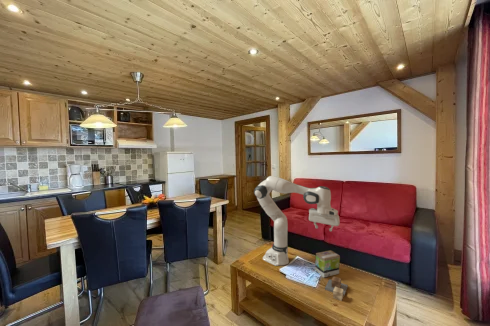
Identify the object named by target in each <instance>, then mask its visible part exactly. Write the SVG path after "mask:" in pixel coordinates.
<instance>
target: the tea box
mask: <svg viewBox="0 0 490 326" xmlns="http://www.w3.org/2000/svg"><path fill="white" fill-rule="evenodd" d="M340 260H341V256H340V255H339V254H338V253H336V252H335V251H333V250H331V249H330V250H325V251H321V252H316V253H315V266H314V271H315V270H316V271H317V272H318V273H320V274H321V275H320V274H319V275H320V276H321V277H322V278H327V277H330V276H334V275H335V276H336V275H339V274H340ZM316 271H315V272H316ZM317 272H316V273H317ZM318 273H317V274H318Z"/></svg>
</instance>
